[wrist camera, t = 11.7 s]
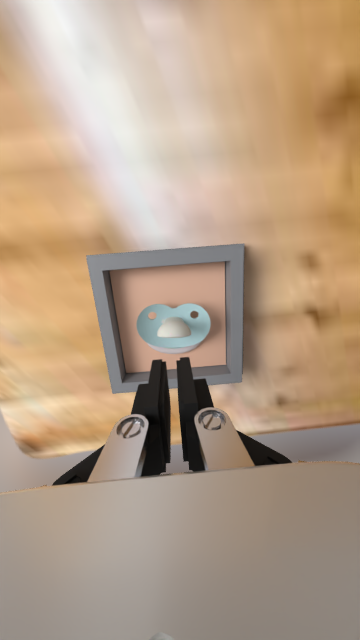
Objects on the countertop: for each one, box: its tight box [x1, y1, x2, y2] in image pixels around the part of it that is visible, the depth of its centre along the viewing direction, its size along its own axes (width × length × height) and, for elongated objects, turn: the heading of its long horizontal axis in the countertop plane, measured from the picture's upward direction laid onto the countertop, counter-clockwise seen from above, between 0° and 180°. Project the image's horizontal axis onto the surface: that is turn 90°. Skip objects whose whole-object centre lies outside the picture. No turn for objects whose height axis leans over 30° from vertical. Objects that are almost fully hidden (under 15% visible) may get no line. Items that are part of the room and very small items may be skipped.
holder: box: [86, 244, 244, 394], centre depth 23 cm, size 16×15×3 cm
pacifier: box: [136, 303, 211, 354], centre depth 20 cm, size 7×6×6 cm
